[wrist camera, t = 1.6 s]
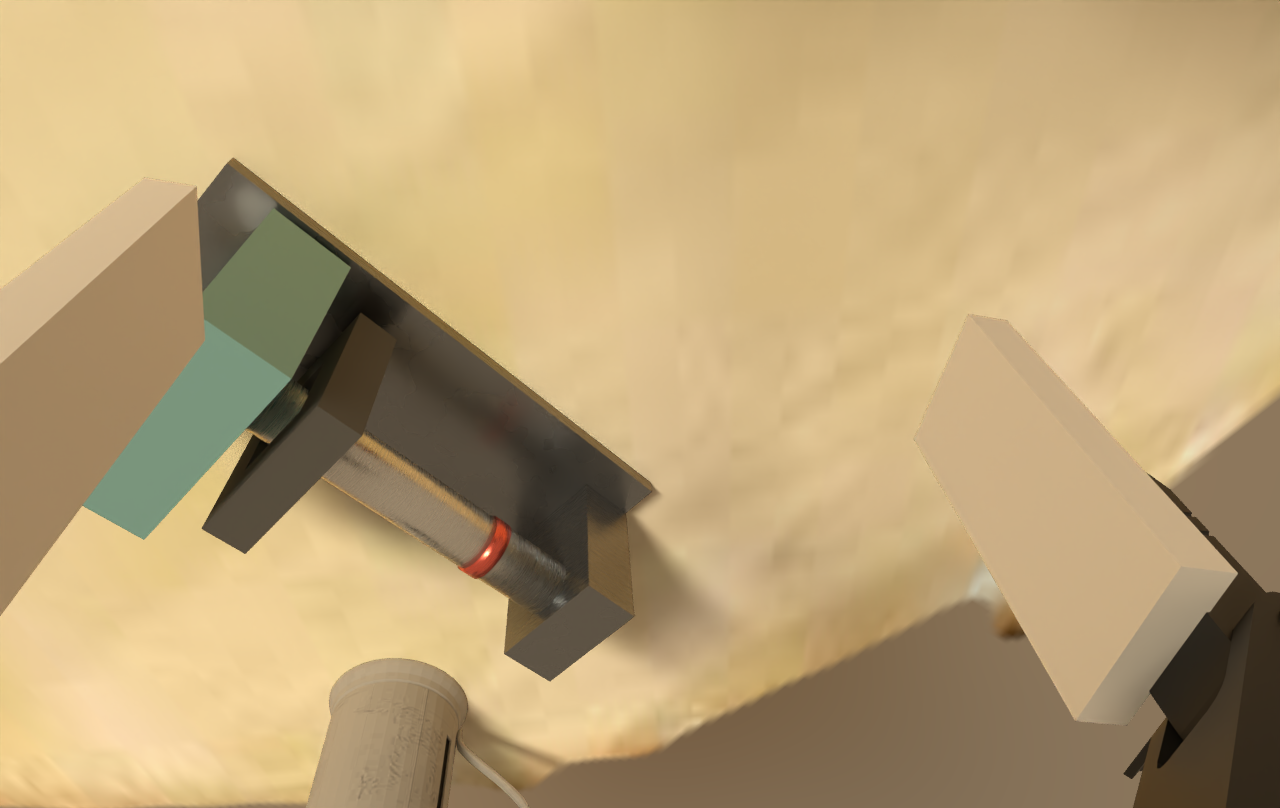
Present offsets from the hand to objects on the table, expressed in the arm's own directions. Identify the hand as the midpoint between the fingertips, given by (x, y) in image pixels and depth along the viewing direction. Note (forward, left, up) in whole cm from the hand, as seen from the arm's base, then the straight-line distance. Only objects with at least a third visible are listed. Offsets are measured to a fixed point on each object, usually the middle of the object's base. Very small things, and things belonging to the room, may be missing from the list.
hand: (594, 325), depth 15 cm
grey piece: (+5, -19, -26) cm, 32 cm away
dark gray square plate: (+1, -19, -23) cm, 30 cm away
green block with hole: (-3, -19, -24) cm, 31 cm away
